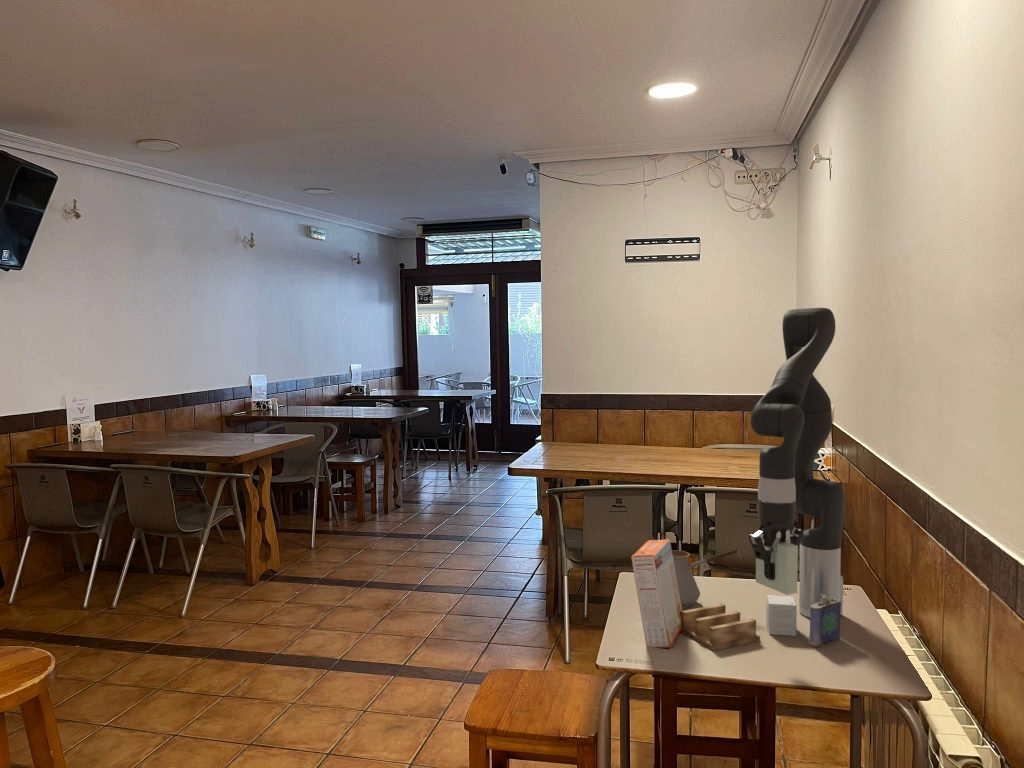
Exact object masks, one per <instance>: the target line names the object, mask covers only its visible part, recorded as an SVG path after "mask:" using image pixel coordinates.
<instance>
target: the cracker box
mask: <svg viewBox="0 0 1024 768" xmlns="http://www.w3.org/2000/svg"><path fill="white" fill-rule="evenodd" d="M672 550H673V549H672V545H671V539H651V540H650V539H649V540H647V541H646V542H645V543H644V544H643V545H642V546H640V547H639V549H637V551H636V552H635V553H633V554H632V556H631V558H630V559H631V565H632V570H633V576H634V580H635V587H636V594H637V600H638V605H639V611H640V618H641V623H642V628H643V634H644V640H645V645H649V646H648V647H651V646H655V647H654V648H657V647H661V649H662V648H663V649H664V648H665V649H668V648H669V649H671V648H672V646H673V644H674V643H675V641H676V639H677V638H678V636H679V635H680V633H681V630H682V620H681V611H683V610H682V609H683V608H681V602H680V596H679V590H678V585H677V579H676V573H675V567H674V561H673V555H672Z"/></svg>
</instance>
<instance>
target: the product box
mask: <svg viewBox="0 0 1024 768" xmlns="http://www.w3.org/2000/svg"><path fill="white" fill-rule="evenodd" d="M765 605H766V609H765V610H766V611H765V612H766V614H765V615H766V617H765V623H766V628H767V630H768V631H767V633H768V635H774V636H775V635H777V636H789V637H797V634H798V633H797V616H798V615H797V611H798V610H797V604H796V602H795V599H794V597H793V596H787V595H785V596H783V595H771V594H767V595H766V603H765Z"/></svg>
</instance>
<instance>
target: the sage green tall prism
mask: <svg viewBox="0 0 1024 768" xmlns="http://www.w3.org/2000/svg"><path fill="white" fill-rule="evenodd" d="M767 545H768V544H767ZM768 546H769V547H772V546H771V545H768ZM798 550H799V548H798V546H797V545H794V544H791V543H788V542H780V543H779V544H777V552H776V555H775V562H774V563H775V580H769V579H767V578H766V577H765V575H764V561H763V560H761V559H757V558H756V557H755V583H756V584H758V585H762V586H765V587H766V588H769V589H771V590H774V591H775V592H779V593H781V594H784V595H785V596H787V595H789V596H790V595H793V594H794V595H795V594H797V593H798V568H799V567H798V565H799V563H798V557H799V556H798V555H799V554H798V553H799V552H798ZM768 556H770V551H769V554H768Z"/></svg>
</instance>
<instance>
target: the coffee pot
mask: <svg viewBox="0 0 1024 768" xmlns="http://www.w3.org/2000/svg"><path fill="white" fill-rule="evenodd" d="M736 553H738V556H739V558H741V557H742V556H741V553H740V550H739V549H738V548H737V549H732V550H728V551H726V552H721V553H717V554H715V555H713V556H710V557H708V558H705V559H702V560H699V561H695V562H692V563H688V562H689V558H690V557H691V553H689V552H687V551H685V550H676V549H675V550H673V549H672V555H673V561H674V567H675V573H676V579H677V585H678V590H679V596H680V602H681V608H682V609H684V608H689V607H691V606H693V605H694V604H695V603H696V602H697V601H699V598H700V596H701V592H700V589H699V587H698V584H697V582H696V581H697V580H696V579H695V577H694V575H693V573H692V570H691V568H694V567H697V566H700V565H703V564H705V563H710V562H712V561H713V562H715V561H718V560H721V559H723V558H725V557H727V556H732V555H733V554H736Z"/></svg>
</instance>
